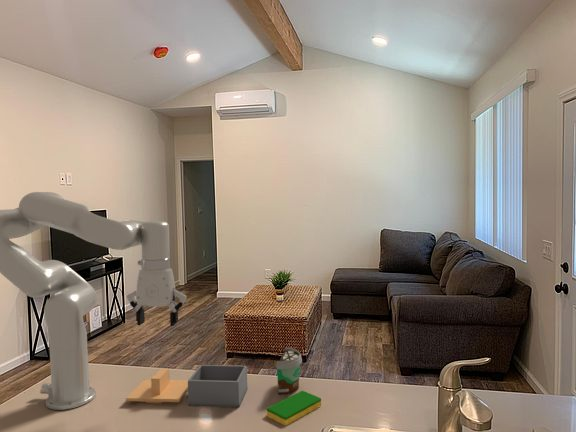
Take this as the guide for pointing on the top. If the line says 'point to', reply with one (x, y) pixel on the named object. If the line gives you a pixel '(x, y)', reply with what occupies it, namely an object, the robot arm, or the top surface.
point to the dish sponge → (293, 407)
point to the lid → (160, 389)
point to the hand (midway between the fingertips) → (157, 324)
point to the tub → (217, 386)
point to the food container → (288, 371)
